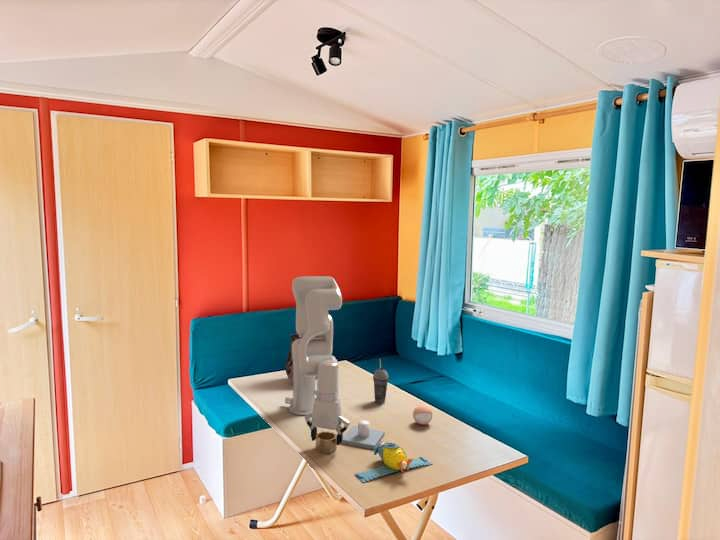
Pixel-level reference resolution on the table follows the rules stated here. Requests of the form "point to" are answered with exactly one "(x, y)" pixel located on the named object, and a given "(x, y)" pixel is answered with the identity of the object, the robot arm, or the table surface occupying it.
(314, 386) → the robot arm
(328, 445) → the ring
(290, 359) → the ceramic pitcher
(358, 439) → the block
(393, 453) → the toy parrot figure
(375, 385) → the beverage cup
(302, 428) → the table surface
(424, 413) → the toy ball
